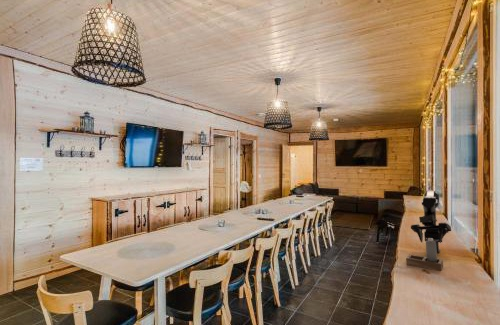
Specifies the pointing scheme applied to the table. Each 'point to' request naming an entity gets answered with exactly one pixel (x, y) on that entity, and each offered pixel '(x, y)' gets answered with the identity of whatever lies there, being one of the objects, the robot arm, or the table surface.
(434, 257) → the slate plug
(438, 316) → the table surface
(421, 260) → the box
